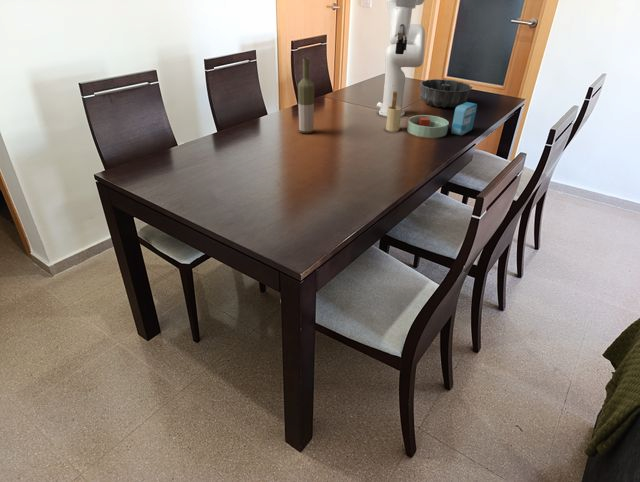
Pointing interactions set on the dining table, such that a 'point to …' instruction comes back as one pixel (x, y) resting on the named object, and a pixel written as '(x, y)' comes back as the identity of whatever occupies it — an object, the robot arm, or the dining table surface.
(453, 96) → the bundt pan
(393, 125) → the crock
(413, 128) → the bowl
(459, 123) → the data package
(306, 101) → the bottle
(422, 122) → the block
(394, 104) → the stick
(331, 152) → the dining table surface
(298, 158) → the dining table surface
